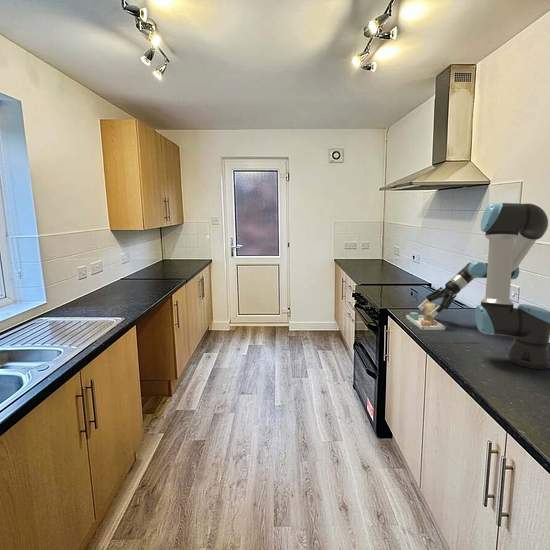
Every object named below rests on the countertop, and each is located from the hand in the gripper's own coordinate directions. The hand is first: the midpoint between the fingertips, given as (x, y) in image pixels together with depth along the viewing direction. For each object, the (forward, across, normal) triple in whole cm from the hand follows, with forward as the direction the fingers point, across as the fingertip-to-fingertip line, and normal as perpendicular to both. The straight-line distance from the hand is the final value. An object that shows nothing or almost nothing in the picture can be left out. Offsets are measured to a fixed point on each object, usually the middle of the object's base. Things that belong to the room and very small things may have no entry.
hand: (425, 312), depth 196 cm
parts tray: (+5, 0, -5) cm, 7 cm away
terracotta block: (+6, -7, -2) cm, 10 cm away
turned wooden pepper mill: (+3, 0, -6) cm, 7 cm away
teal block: (+6, +8, -3) cm, 10 cm away
